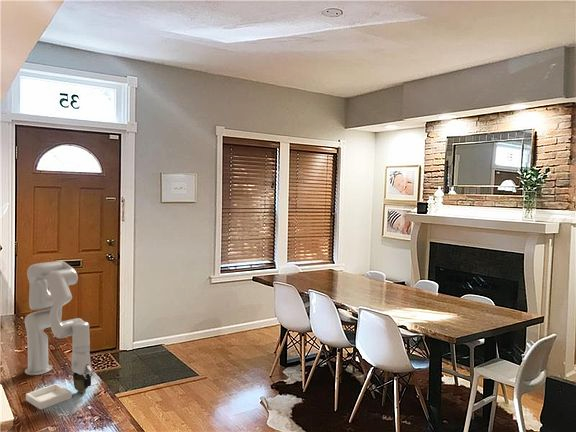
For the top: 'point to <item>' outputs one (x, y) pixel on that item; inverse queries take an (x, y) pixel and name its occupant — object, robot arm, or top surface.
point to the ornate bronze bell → (79, 383)
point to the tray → (48, 396)
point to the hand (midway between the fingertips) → (82, 383)
